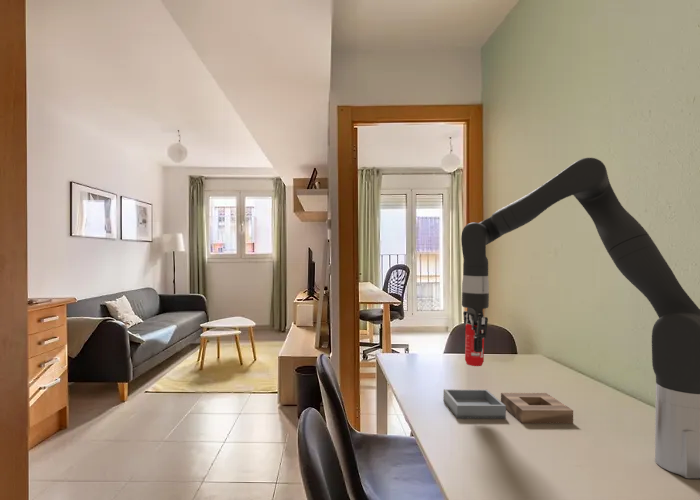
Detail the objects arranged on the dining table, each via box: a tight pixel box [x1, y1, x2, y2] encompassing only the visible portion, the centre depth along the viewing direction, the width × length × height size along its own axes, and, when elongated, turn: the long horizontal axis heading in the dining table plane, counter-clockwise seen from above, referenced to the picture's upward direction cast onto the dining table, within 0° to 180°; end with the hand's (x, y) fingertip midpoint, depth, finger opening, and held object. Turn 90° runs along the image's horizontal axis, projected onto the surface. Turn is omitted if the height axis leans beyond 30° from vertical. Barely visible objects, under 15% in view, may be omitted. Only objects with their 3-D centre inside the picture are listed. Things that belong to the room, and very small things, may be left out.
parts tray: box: [442, 388, 507, 420], centre depth 120 cm, size 14×14×4 cm
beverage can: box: [464, 322, 485, 367], centre depth 120 cm, size 5×5×12 cm
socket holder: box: [500, 392, 574, 424], centre depth 117 cm, size 14×14×4 cm
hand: (474, 349), depth 120 cm, fingers closed on beverage can, 5 cm apart
